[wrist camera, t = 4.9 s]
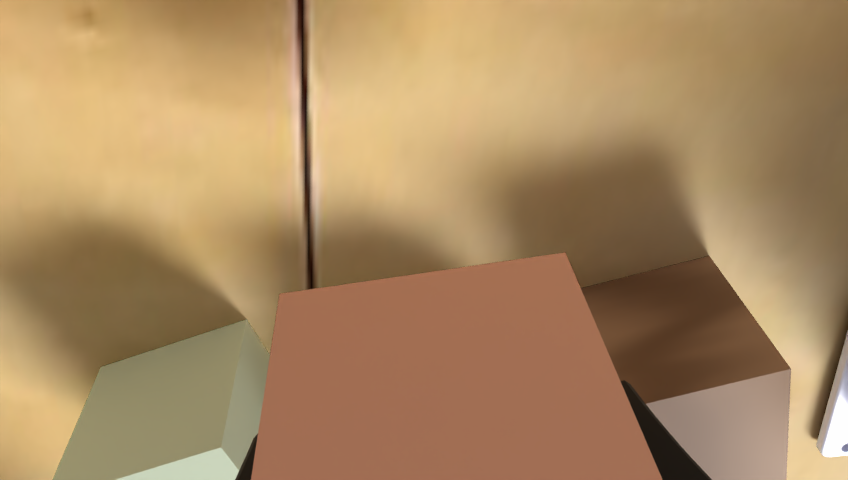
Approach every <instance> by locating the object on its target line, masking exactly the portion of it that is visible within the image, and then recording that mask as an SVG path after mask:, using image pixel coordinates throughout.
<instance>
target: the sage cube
mask: <svg viewBox="0 0 848 480" xmlns="http://www.w3.org/2000/svg"><path fill="white" fill-rule="evenodd" d="M269 359H270V355H269V353H268V351H267V350H266V348H265V347H264V345H263V344H262V342H261V341H260V339H259V337H258V336H257V334H256V333H255V331H254V330H253V328H252V327H251V325H250V324H249V322H248V320H247V319H246V320H243V321H240V322H237V323H234V324H231V325H228V326H225V327H221V328H218V329H215V330H212V331H209V332H206V333H203V334H200V335H197V336H194V337H191V338H188V339H185V340H182V341H179V342H176V343H173V344H170V345H166V346H163V347H160V348H157V349H154V350H151V351H148V352H145V353H142V354H139V355H136V356H133V357H130V358H127V359H124V360H121V361H118V362H115V363H112V364H108V365H105V366H102V367H101V368H100V370H99V372H98V375H97V377H96V379H95V382H94V384H93V386H92V389H91V391H90V393H89V396H88V398H87V400H86V403H85V405H84V407H83V410H82V412H81V414H80V417H79V419H78V421H77V424H76V426H75V428H74V431H73V433H72V435H71V438H70V440H69V442H68V445H67V447H66V449H65V452H64V454H63V456H62V459H61V461H60V463H59V466H58V468H57V470H56V473H55V475H54V477H53V480H235V479H236V477H237V474H238V472H239V470H240V468H241V466H242V463H243V461H244V459H245V457H246V454H247V452H248V450H249V448H250V445H251V443H252V441H253V438H254V437H255V436H256V435H257V434H258V430H259V424H260V417H261V411H262V404H263V398H264V391H265V385H266V378H267V372H268V365H269Z"/></svg>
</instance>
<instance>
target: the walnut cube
mask: <svg viewBox="0 0 848 480" xmlns="http://www.w3.org/2000/svg"><path fill="white" fill-rule="evenodd" d="M581 290H582V293H583V295H584V297H585V300H586V302H587V304H588V307H589V309H590V311H591V314H592V316H593V318H594V321H595V323H596V325H597V328H598V330H599V332H600V335H601V337H602V339H603V342H604V344H605V346H606V349H607V351H608V353H609V356H610V358H611V360H612V363H613V365H614V367H615V370H616V372H617V374H618V377H619V379H620V381H623V380H625V381H627V382H628V383H629V384H631V385H632V387H633V388H634V389H635V391H636V392H637V393H638V395H639V396H640V397H641V399H642V400H643V401H644V402H645V404H646V405H647V406H648V407H649V409H650V410H651V411H652V412H653V414H654V415H655V416H656V417H657V418H658V420H659V421H660V422H661V423H662V425H663V426H664V427H665V428H666V429H667V430H668V432H669V433H670V434H671V435H672V436H673V437H674V439H675V440H676V441H677V442H678V443H679V444H680V445H681V447H682V448H683V449H684V450H685V451H686V452H687V453H688V454H689V456H690V457H691V458H692V459H693V460H694V461H695V462H696V463H697V464H698V465H699V466H700V467H701V468H702V470H703V471H704V472H705V473H706V474H707V475H708V476H709V477H710V478H711V479H712V480H786V476H787V452H788V427H789V403H790V379H791V368H790V367H789V366H788V364H787V363H786V361H785V360H784V359H783V357H782V356H781V355H780V353H779V352H778V350H777V349H776V348H775V346H774V345H773V344H772V342H771V341H770V339H769V338H768V337H767V335H766V334H765V332H764V331H763V330H762V328H761V327H760V326H759V324H758V323H757V321H756V320H755V319H754V317H753V316H752V314H751V313H750V312H749V310H748V309H747V308H746V306H745V305H744V303H743V302H742V301H741V299H740V298H739V296H738V295H737V294H736V292H735V291H734V290H733V288H732V287H731V285H730V284H729V283H728V281H727V280H726V278H725V277H724V276H723V274H722V273H721V272H720V270H719V269H718V267H717V266H716V265H715V263H714V262H713V260H712V259H711V258H710V256H706V257H703V258H699V259H695V260H691V261H687V262H683V263H679V264H675V265H671V266H667V267H663V268H659V269H655V270H651V271H647V272H643V273H639V274H635V275H632V276H628V277H624V278H620V279H616V280H612V281H608V282H604V283H600V284H596V285H592V286H588V287H584V288H581Z"/></svg>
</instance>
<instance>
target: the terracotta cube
mask: <svg viewBox="0 0 848 480" xmlns="http://www.w3.org/2000/svg"><path fill="white" fill-rule="evenodd" d="M251 480H662V477H661V475H660V473H659V470H658V468H657V466H656V463H655V461H654V459H653V456H652V454H651V452H650V449H649V447H648V445H647V442H646V440H645V438H644V435H643V433H642V431H641V428H640V426H639V424H638V421H637V419H636V417H635V414H634V412H633V409H632V407H631V405H630V402H629V400H628V398H627V395H626V393H625V391H624V388H623V386H622V384H621V381H620V379H619V377H618V374H617V372H616V370H615V367H614V365H613V363H612V360H611V358H610V356H609V353H608V351H607V349H606V346H605V344H604V342H603V339H602V337H601V335H600V332H599V330H598V328H597V325H596V323H595V321H594V318H593V316H592V314H591V311H590V309H589V307H588V304H587V302H586V300H585V297H584V295H583V293H582V290H581V288H580V285H579V283H578V281H577V278H576V276H575V274H574V271H573V269H572V267H571V264H570V262H569V260H568V257H567V255H566V253H565V252H564V253H557V254H551V255H544V256H537V257H530V258H523V259H516V260H509V261H502V262H495V263H488V264H482V265H475V266H468V267H461V268H454V269H447V270H440V271H433V272H426V273H419V274H413V275H406V276H399V277H392V278H385V279H378V280H371V281H364V282H357V283H350V284H344V285H337V286H330V287H323V288H316V289H309V290H302V291H295V292H288V293H281V294H279V300H278V306H277V313H276V320H275V326H274V333H273V339H272V346H271V352H270V359H269V365H268V372H267V378H266V385H265V391H264V398H263V404H262V411H261V417H260V424H259V430H258V437H257V443H256V450H255V456H254V463H253V469H252V476H251Z"/></svg>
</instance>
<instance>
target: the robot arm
mask: <svg viewBox="0 0 848 480" xmlns="http://www.w3.org/2000/svg"><path fill="white" fill-rule="evenodd" d="M621 384H622V386H623V388H624V391H625V393H626V395H627V398H628V400H629V402H630V405H631V407H632V409H633V412H634V414H635V417H636V419H637V421H638V424H639V426H640V428H641V431H642V433H643V435H644V438H645V440H646V442H647V445H648V447H649V449H650V452H651V454H652V456H653V459H654V461H655V463H656V466H657V468H658V470H659V473H660V475H661V477H662V480H712V479H711V478H710V477H709V476H708V475H707V474H706V473H705V472H704V471H703V470H702V468H701V467H700V466H699V465H698V464H697V463H696V462H695V461H694V460H693V459H692V458H691V457H690V456H689V454H688V453H687V452H686V451H685V450H684V449H683V448H682V447H681V445H680V444H679V443H678V442H677V441H676V440H675V439H674V437H673V436H672V435H671V434H670V433H669V432H668V430H667V429H666V428H665V427H664V426H663V425H662V423H661V422H660V421H659V420H658V418H657V417H656V416H655V415H654V414H653V412H652V411H651V410H650V409H649V407H648V406H647V405H646V404H645V402H644V401H643V400H642V399H641V397H640V396H639V395H638V393H637V392H636V391H635V389H634V388H633V387H632V385H631V384H629V383H628V382H627V381H625V380H623V381H621ZM257 437H258V434H257V435H256V436H255V437H254V438H253V441H252V443H251V445H250V448H249V450H248V452H247V454H246V457H245V459H244V461H243V463H242V466H241V468H240V470H239V472H238V474H237V477H236V479H235V480H251V476H252V469H253V463H254V456H255V450H256V443H257ZM817 448H818V450H819V451H820V453H821V454H822V455H823V456H825V457H837V456H844V455H848V331H847V335H846V339H845V342H844V346H843V350H842V353H841V357H840V360H839V364H838V368H837V371H836V375H835V379H834V382H833V386H832V389H831V393H830V397H829V400H828V404H827V407H826V411H825V415H824V418H823V422H822V426H821V429H820V433H819V436H818V440H817Z"/></svg>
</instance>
